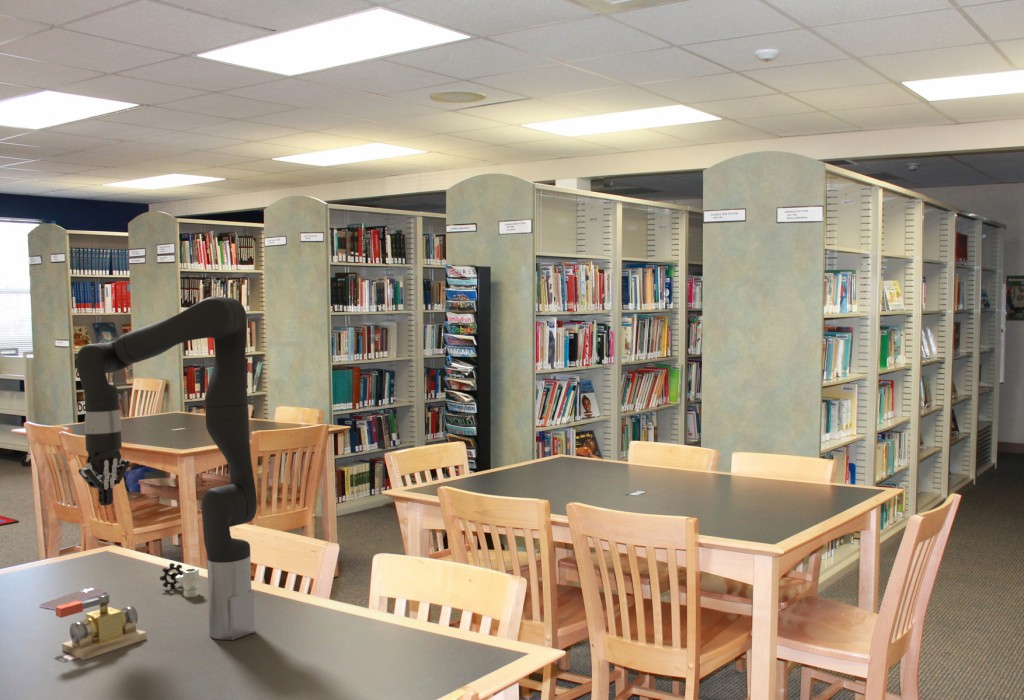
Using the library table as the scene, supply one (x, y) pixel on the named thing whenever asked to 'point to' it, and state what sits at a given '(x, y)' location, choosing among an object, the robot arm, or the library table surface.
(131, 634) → the pipe board
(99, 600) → the valve lever
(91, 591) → the mobile phone
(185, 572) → the valve
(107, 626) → the valve body
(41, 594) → the library table surface
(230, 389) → the robot arm
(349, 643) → the library table surface
